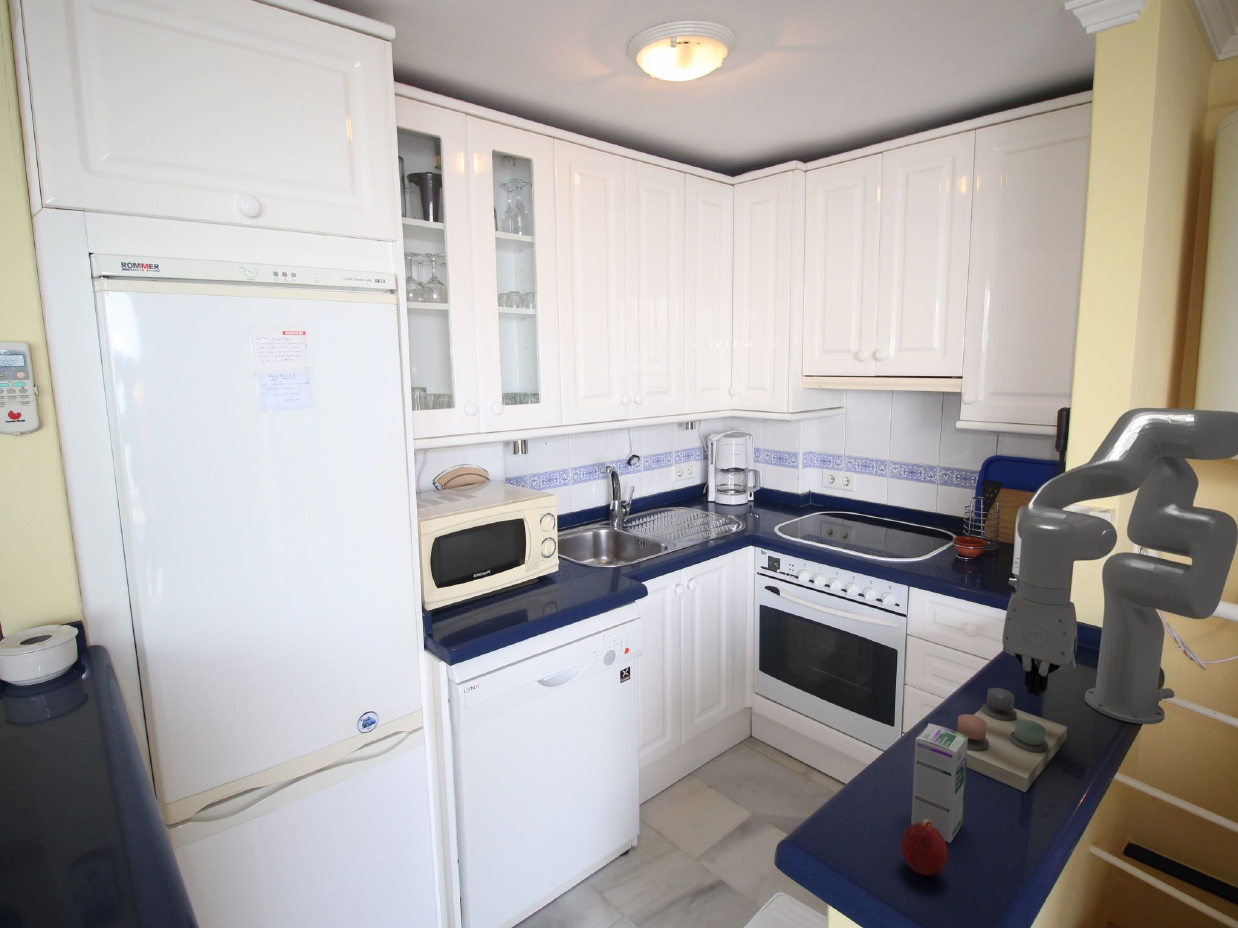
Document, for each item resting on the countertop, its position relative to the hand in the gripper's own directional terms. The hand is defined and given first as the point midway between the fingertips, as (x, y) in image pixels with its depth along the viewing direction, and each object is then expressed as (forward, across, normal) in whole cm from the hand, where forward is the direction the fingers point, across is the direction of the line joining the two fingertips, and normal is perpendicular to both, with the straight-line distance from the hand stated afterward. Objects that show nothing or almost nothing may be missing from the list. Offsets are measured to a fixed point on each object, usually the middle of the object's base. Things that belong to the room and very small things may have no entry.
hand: (1035, 691), depth 113 cm
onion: (+11, -1, -41) cm, 43 cm away
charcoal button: (+8, -7, +6) cm, 12 cm away
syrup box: (+11, -4, -30) cm, 32 cm away
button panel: (+12, -4, -1) cm, 13 cm away
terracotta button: (+7, -7, -8) cm, 13 cm away
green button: (+8, 0, -1) cm, 8 cm away
